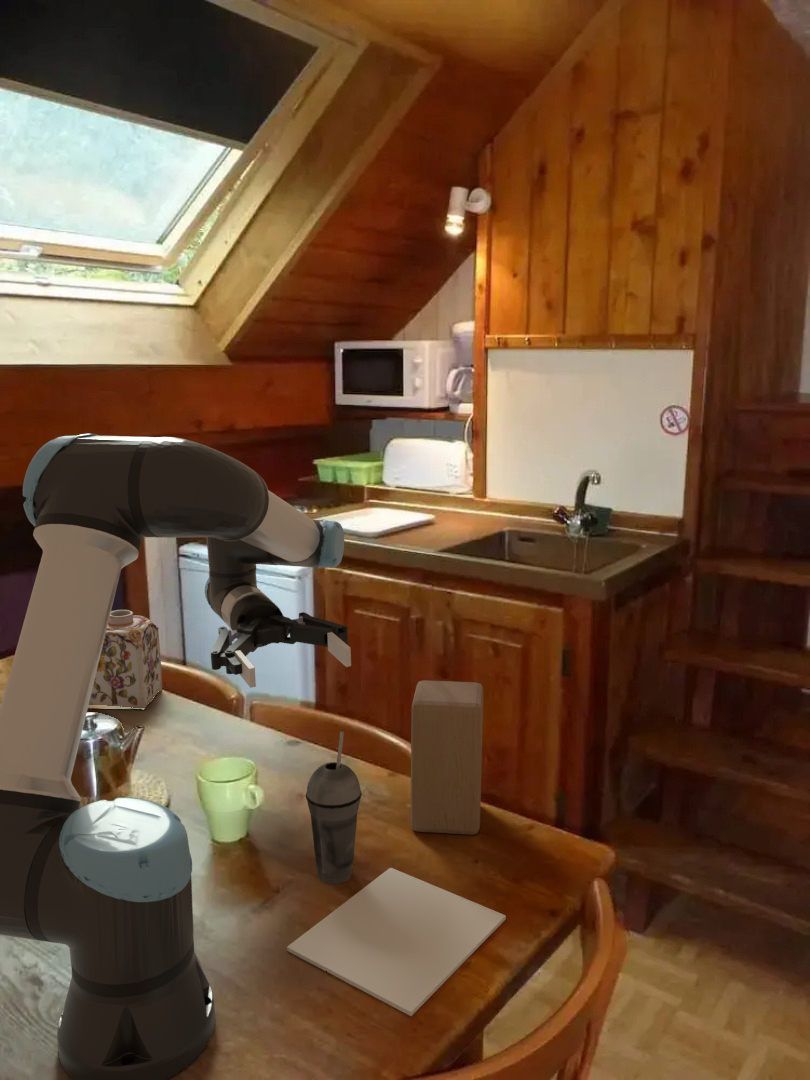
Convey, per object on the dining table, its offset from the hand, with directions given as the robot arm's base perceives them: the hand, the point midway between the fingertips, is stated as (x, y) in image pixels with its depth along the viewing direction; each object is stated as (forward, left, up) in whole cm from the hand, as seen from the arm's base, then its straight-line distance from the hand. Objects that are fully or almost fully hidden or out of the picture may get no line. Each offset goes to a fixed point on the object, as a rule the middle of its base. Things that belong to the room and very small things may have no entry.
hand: (301, 667), depth 117 cm
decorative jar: (+19, +65, -27) cm, 73 cm away
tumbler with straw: (-3, -8, -27) cm, 28 cm away
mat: (-8, -22, -26) cm, 35 cm away
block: (+18, -12, -27) cm, 34 cm away
